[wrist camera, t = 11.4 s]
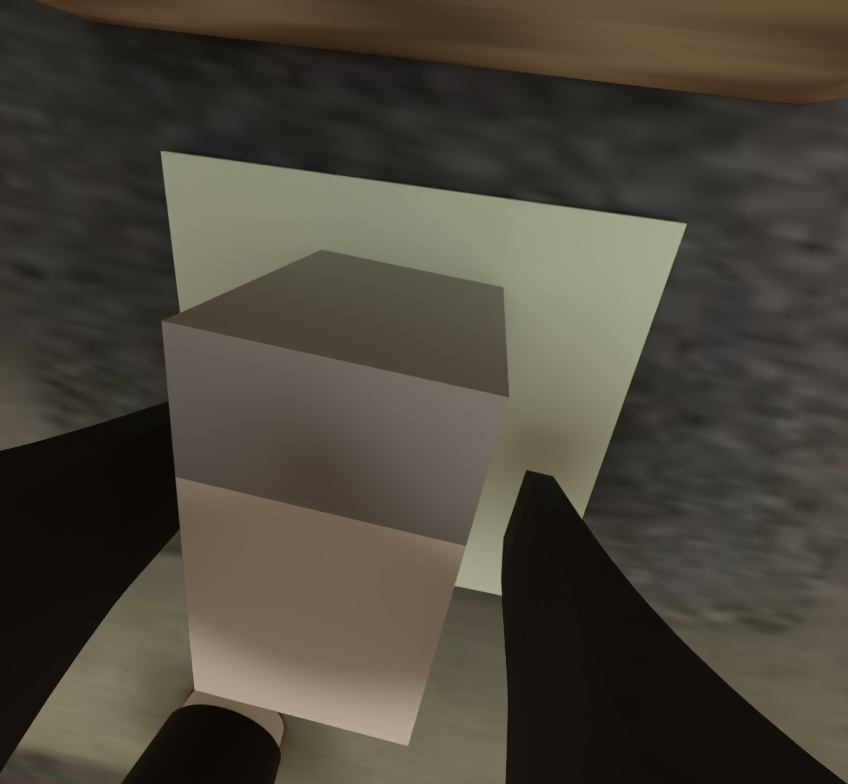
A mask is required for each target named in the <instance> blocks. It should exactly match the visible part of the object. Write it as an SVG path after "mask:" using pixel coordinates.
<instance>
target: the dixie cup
mask: <svg viewBox="0 0 848 784" xmlns="http://www.w3.org/2000/svg"><path fill="white" fill-rule="evenodd" d="M283 732H284V724H283V721H282V719H281V717H280V715H279V714H278V712H277V711H273V710H269V709H265V708H262V707H258V706H254V705H250V704H246V703H242V702H239V701H235V700H231V699H227V698H223V697H220V696H216V695H212V694H208V693H204V692H200V691H197V690H195V691H194V692H193V693H192V694H191V695H190V697H189V698H188V699H187V701H186V702H185V704H184V705H183V706H182V708H179V709H177V710H176V711H174V712H173V713H172V714H171V715H170V717H169V718H168V719H167V721H166V722H165V723H164V725H163V726H162V728H161V729H160V730H159V732H158V733H157V735H156V736H155V737H154V739H153V740H152V741H151V743H150V744H149V746H148V747H147V748H146V750H145V751H144V753H143V754H142V755H141V757H140V758H139V759H138V761H137V762H136V764H135V765H134V766H133V768H132V769H131V771H130V772H129V773H128V775H127V776H126V777H125V779H124V780H123V782H122V783H121V784H274V782H275V778H276V775H277V771H278V767H279V764H280V760H281V752H280V749H279V747H280V743H281V739H282V736H283Z"/></svg>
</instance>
